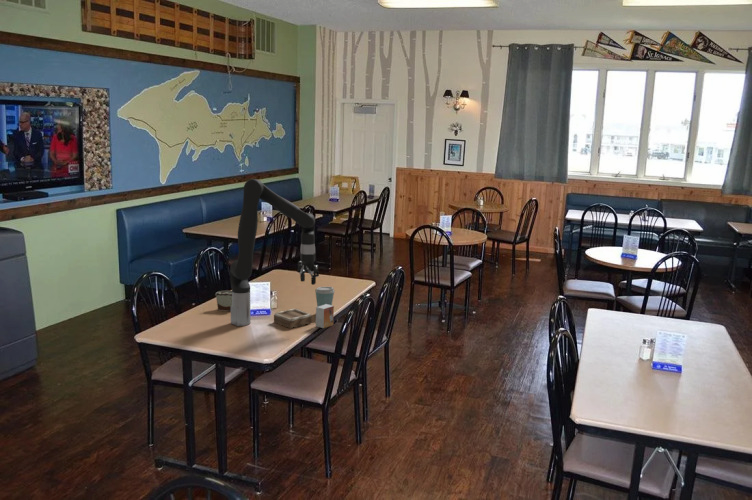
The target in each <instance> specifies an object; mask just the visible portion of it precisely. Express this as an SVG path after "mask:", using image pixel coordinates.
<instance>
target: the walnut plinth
mask: <svg viewBox="0 0 752 500" xmlns="http://www.w3.org/2000/svg"><path fill="white" fill-rule="evenodd" d="M274 322H275V324H277V323H278V324H277V325H279V324H280V325H279V326H282V325H283V326H282V327H284V326H286V327H285V328H287V327H288V328H287V329H289V328H292V329H294V328H293V327H296V328H298V327H297V326H300V327H302V326H301V325H304V326H306V325H305V324H308V325H311V324H310V323H313V321H312V313H309V312H306V311H303V310H301V309H299V308H291V309H286V310H282V311H277V312H275V313H274V315H273V323H274Z"/></svg>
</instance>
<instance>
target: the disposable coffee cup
mask: <svg viewBox="0 0 752 500" xmlns="http://www.w3.org/2000/svg"><path fill="white" fill-rule="evenodd" d="M334 294H335V289H334V287H332V286H319V287H317V288H316V289H315V297H316V298H315V299H316V307H318V306H322V305H325V304H328V305H332V306H333V300H334Z"/></svg>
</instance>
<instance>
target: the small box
mask: <svg viewBox="0 0 752 500" xmlns="http://www.w3.org/2000/svg"><path fill="white" fill-rule="evenodd" d="M334 308H335V306H334V305H333V304H332V305H328V304H325V305H322V306H318V307H317V306H316V307H315V327H317V328H321V329H325V328H329V327H332V326H333V325H334V313H335V312H334V311H335V310H334Z"/></svg>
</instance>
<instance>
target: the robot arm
mask: <svg viewBox="0 0 752 500" xmlns="http://www.w3.org/2000/svg"><path fill="white" fill-rule="evenodd" d="M242 199H243V201H242V207H241V213H240V218H239V222H238V229H237V243H238V257H237V259H236V260H234V261H233V262H232V263H231V265H230V270H229V279H230V285H231V291H232V306H231V311H230V324H231V325H233V326H236V327H239V326H240V327H241V326H243V327H244V326H248V325H250V324H251V319H252V318H251V285H250V282H249V279H250V277H251V275H252V273H253V258H254V249H255V243H256V237H257V231H258V222H259V220H258V219H259V218H258V217H259V216H258V207H259V203H260V200H262V201H264V202H266V203H267V204H269V205H271V206H272V207H273V208H274V209H276V210H277V211H278V212H280V213H281V214H282V215H284V216H286V217H288V218H289V219H292V220H293V221H294V222H295V223H296V224H297V225H299V226H301V235H300V260H299V261H297V270H296V271H297V273H299V278H300V282H305V281H306V280H305V277H306V275H305V273H306V272H307V273H308V274H309V276H310V277H311V278H310V282H311V283H310V284H311V285H316V283H317V281H316V278H317V277H319V276H320V273H319V272H320V271H319V269H320V268H319V267H320V266H319V265H318V264H315V262H316V246H315V245H316V244H315V243H316V242H315V241H316V240H315V239H316V238H315V236H316V235H315V229H316V217H315V215H314V214H312V213H310V212H305V211H303V210H301V208H300V206H297V205H296V204H295V203H293V202H291V201H289V200H287V199H286V198H284V197H282V196H281V195H278V194H277V193H276V192H274V191H272V189H270V188H269V187H267V186H266V185H265V184H264V183H263V182H262V181H261V180H260V179H256V178H250V179H248V180H247V181H246V182H245V183H244V184H243V198H242Z"/></svg>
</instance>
